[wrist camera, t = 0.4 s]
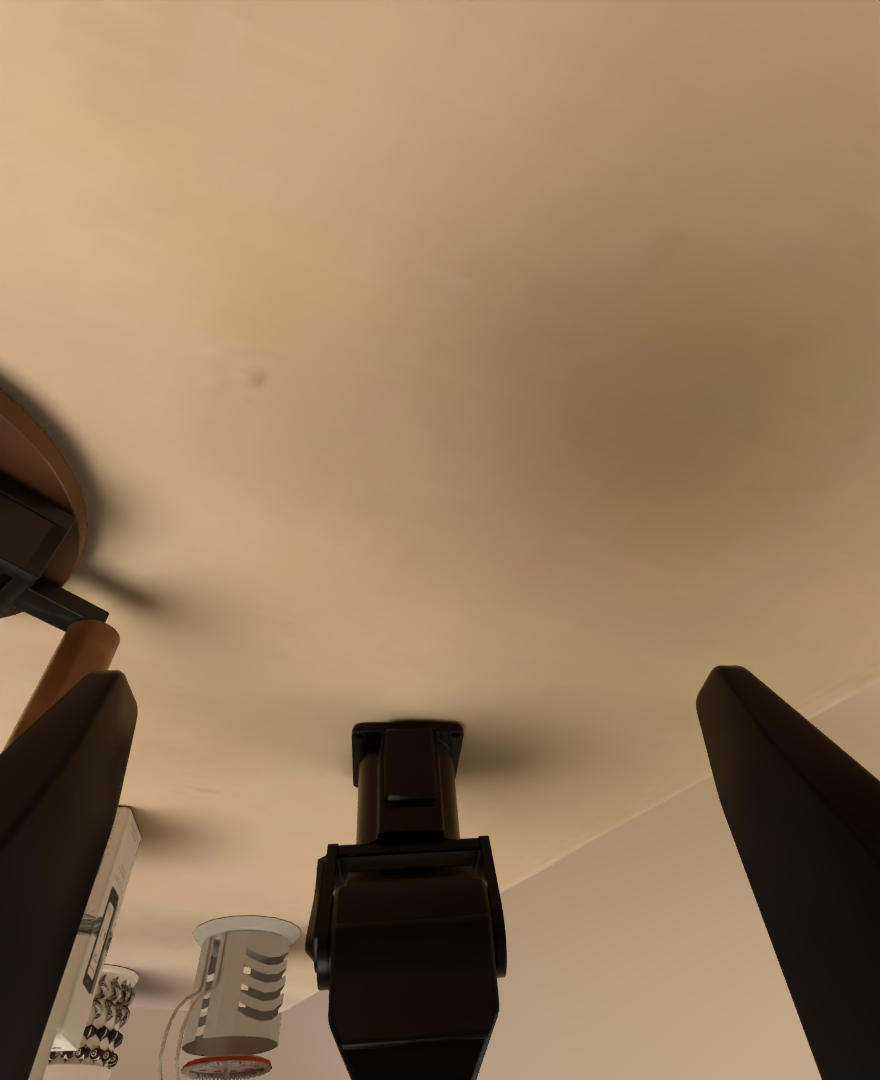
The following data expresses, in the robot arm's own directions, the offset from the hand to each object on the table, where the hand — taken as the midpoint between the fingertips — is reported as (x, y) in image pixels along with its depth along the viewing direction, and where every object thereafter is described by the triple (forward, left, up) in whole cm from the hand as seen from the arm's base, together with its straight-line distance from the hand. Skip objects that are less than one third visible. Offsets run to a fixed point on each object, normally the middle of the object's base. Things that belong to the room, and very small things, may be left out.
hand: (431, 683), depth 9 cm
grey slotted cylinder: (-57, +13, -14) cm, 61 cm away
